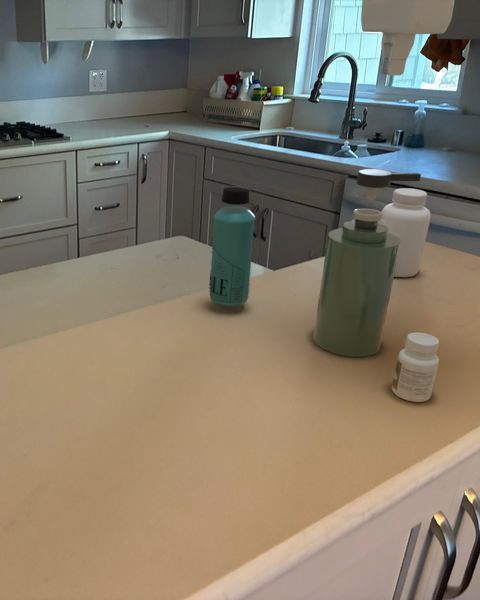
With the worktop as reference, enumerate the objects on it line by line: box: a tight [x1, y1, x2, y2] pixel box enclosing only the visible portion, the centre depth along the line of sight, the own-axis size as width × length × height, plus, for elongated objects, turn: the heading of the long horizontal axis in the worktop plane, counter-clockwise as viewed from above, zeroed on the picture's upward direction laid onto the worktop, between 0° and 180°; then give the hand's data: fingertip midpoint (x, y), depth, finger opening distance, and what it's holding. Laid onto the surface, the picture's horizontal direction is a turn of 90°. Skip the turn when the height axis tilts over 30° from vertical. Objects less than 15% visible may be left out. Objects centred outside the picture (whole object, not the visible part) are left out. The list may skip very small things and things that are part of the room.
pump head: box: [355, 168, 422, 201], centre depth 80 cm, size 8×4×4 cm, turn 82°
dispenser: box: [312, 208, 401, 358], centre depth 86 cm, size 9×9×20 cm
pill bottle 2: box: [391, 331, 440, 403], centre depth 75 cm, size 4×4×8 cm
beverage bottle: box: [208, 185, 256, 307], centre depth 98 cm, size 6×7×20 cm
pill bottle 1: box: [381, 187, 432, 278], centre depth 111 cm, size 8×8×15 cm
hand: (391, 74), depth 75 cm, fingers closed
